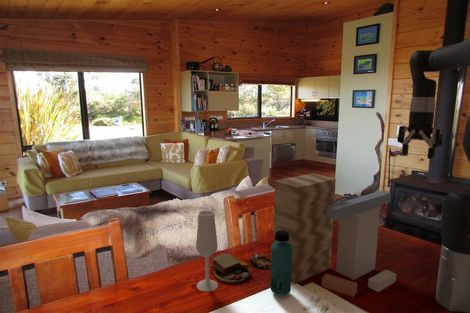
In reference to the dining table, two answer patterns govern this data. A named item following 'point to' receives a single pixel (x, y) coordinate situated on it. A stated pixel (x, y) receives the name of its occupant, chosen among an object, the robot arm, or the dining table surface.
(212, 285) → the champagne flute
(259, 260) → the pastry
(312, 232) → the oak stand
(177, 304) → the dining table surface
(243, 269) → the toy sandwich meal
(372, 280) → the beige rectangular block
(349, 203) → the gray bar
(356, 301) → the dining table surface
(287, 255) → the beverage bottle
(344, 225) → the cream stand
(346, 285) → the brown rectangular block
